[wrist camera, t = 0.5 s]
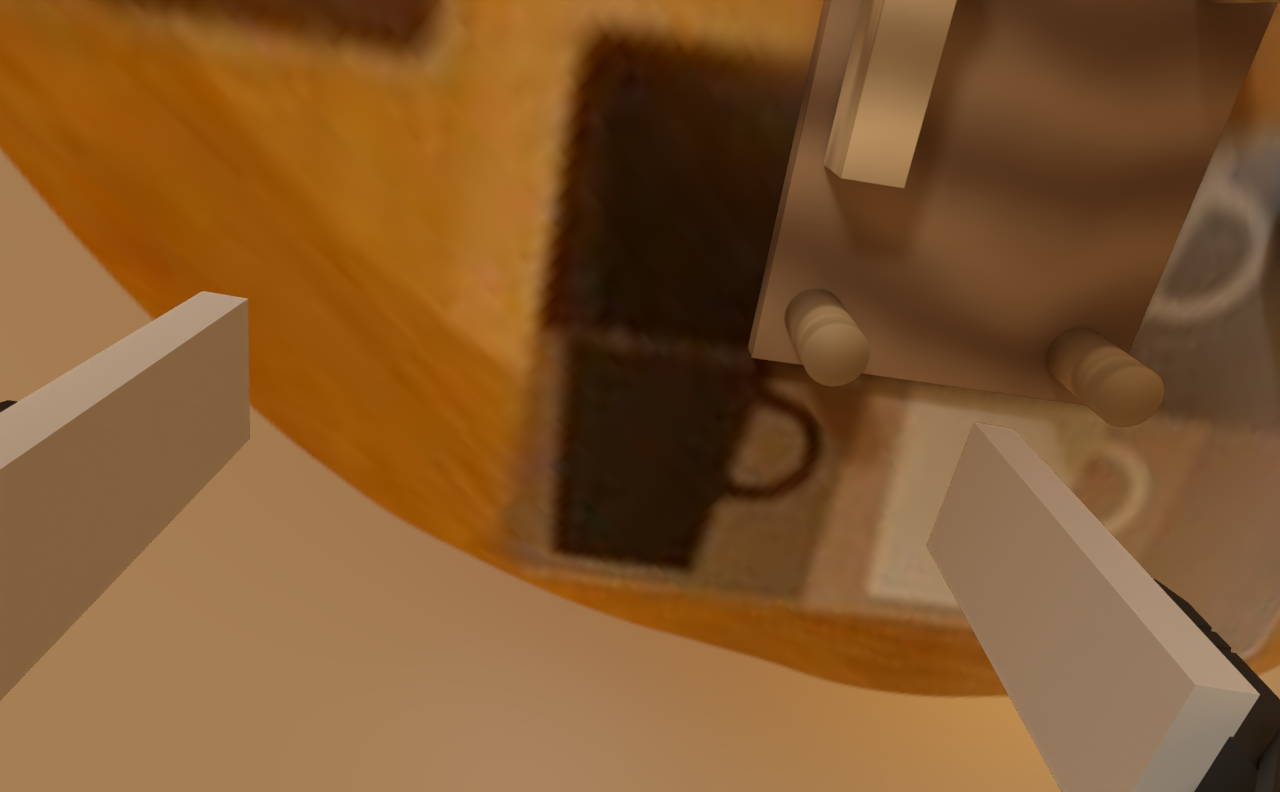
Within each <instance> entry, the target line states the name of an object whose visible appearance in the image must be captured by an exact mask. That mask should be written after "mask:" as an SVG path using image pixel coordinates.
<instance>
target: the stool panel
mask: <svg viewBox="0 0 1280 792" xmlns="http://www.w3.org/2000/svg"><path fill="white" fill-rule="evenodd" d="M1278 2H1280V0H957V1H956V5H955V8H954V12H953V15H952V19H951V22H950V26H949V30H948V33H947V37H946V40H945V44H944V47H943V51H942V55H941V58H940V62H939V65H938V69H937V72H936V76H935V80H934V83H933V87H932V90H931V94H930V97H929V101H928V105H927V108H926V112H925V115H924V119H923V122H922V126H921V130H920V133H919V137H918V140H917V144H916V147H915V151H914V155H913V158H912V162H911V165H910V169H909V172H908V176H907V180H906V183H905V187H904V188H900V187H893V186H887V185H881V184H874V183H868V182H861V181H855V180H849V179H842V178H840V177H839V176H837V175H836V174H835V173H834V172H832V171H831V170H830V169H829V168H827V167H826V166H825V165H824V160H825V156H826V152H827V147H828V143H829V139H830V135H831V130H832V126H833V122H834V118H835V114H836V109H837V105H838V101H839V97H840V92H841V88H842V84H843V80H844V76H845V71H846V67H847V63H848V59H849V55H850V50H851V46H852V42H853V38H854V33H855V29H856V25H857V21H858V17H859V12H860V8H861V4H862V0H824V3H823V8H822V13H821V17H820V22H819V26H818V31H817V35H816V40H815V44H814V49H813V53H812V58H811V63H810V67H809V72H808V76H807V81H806V85H805V90H804V94H803V99H802V104H801V108H800V113H799V117H798V122H797V126H796V131H795V135H794V140H793V145H792V149H791V154H790V158H789V163H788V167H787V172H786V176H785V181H784V186H783V190H782V195H781V199H780V204H779V208H778V213H777V217H776V222H775V227H774V231H773V236H772V240H771V245H770V249H769V254H768V258H767V263H766V268H765V272H764V277H763V281H762V286H761V290H760V295H759V299H758V304H757V309H756V313H755V318H754V322H753V327H752V331H751V336H750V340H749V345H748V348H749V351H750V354H751V357H752V358H756V359H763V360H770V361H777V362H784V363H791V364H799V365H804V368H805V370H806V372H807V373H808V375H809V376H810V377H811V378H812V379H813V380H814V381H816V382H818V383H820V384H822V385H826V386H841V385H845V384H847V383H850V382H852V381H853V380H855V379H856V378H857V377H859V376H860V375H861V373H862V374H869V375H876V376H883V377H890V378H897V379H904V380H911V381H918V382H925V383H932V384H939V385H947V386H954V387H961V388H968V389H975V390H982V391H989V392H996V393H1003V394H1010V395H1017V396H1024V397H1031V398H1038V399H1045V400H1052V401H1059V402H1066V403H1073V404H1080V405H1087V406H1088V407H1089V408H1090V409H1091V410H1093V411H1094V412H1095V413H1096V414H1097V415H1098V416H1100V417H1101V418H1102V419H1103V420H1104V421H1105V422H1107V423H1108V424H1110V425H1113V426H1117V427H1129V426H1134V425H1137V424H1139V423H1141V422H1143V421H1145V420H1147V419H1148V418H1149V417H1151V416H1152V415H1153V414H1154V413H1155V412H1156V411H1157V409H1158V408H1159V406H1160V405H1161V403H1162V400H1163V397H1164V384H1163V382H1162V380H1161V378H1160V377H1159V376H1158V375H1157V374H1156V373H1155V372H1153V371H1152V370H1151V369H1149V368H1148V367H1146V366H1145V365H1143V364H1142V363H1140V362H1139V361H1138V360H1136V359H1135V358H1133V357H1132V356H1130V355H1129V354H1128V352H1129V350H1130V348H1131V345H1132V343H1133V341H1134V338H1135V336H1136V334H1137V331H1138V329H1139V327H1140V324H1141V322H1142V319H1143V317H1144V315H1145V312H1146V310H1147V308H1148V305H1149V303H1150V301H1151V298H1152V296H1153V294H1154V291H1155V289H1156V287H1157V284H1158V282H1159V280H1160V277H1161V275H1162V273H1163V270H1164V268H1165V266H1166V263H1167V261H1168V258H1169V256H1170V254H1171V251H1172V249H1173V247H1174V244H1175V242H1176V240H1177V237H1178V235H1179V233H1180V230H1181V228H1182V226H1183V223H1184V221H1185V219H1186V216H1187V214H1188V212H1189V209H1190V207H1191V205H1192V202H1193V200H1194V198H1195V195H1196V193H1197V190H1198V188H1199V186H1200V183H1201V181H1202V179H1203V176H1204V174H1205V172H1206V169H1207V167H1208V165H1209V162H1210V160H1211V158H1212V155H1213V153H1214V151H1215V148H1216V146H1217V144H1218V141H1219V139H1220V137H1221V134H1222V132H1223V130H1224V127H1225V125H1226V122H1227V120H1228V118H1229V115H1230V113H1231V111H1232V108H1233V106H1234V104H1235V101H1236V99H1237V97H1238V94H1239V92H1240V90H1241V87H1242V85H1243V83H1244V80H1245V78H1246V76H1247V73H1248V71H1249V69H1250V66H1251V64H1252V62H1253V59H1254V57H1255V54H1256V52H1257V50H1258V47H1259V45H1260V43H1261V40H1262V38H1263V36H1264V33H1265V31H1266V29H1267V26H1268V24H1269V22H1270V19H1271V17H1272V15H1273V12H1274V10H1275V8H1276V5H1277V3H1278Z"/></svg>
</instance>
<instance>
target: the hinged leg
mask: <svg viewBox="0 0 1280 792" xmlns="http://www.w3.org/2000/svg"><path fill="white" fill-rule="evenodd" d="M956 1H957V0H862V4H861V8H860V12H859V17H858V21H857V25H856V29H855V33H854V38H853V42H852V46H851V50H850V55H849V59H848V63H847V67H846V71H845V76H844V80H843V84H842V88H841V92H840V97H839V101H838V105H837V109H836V114H835V118H834V122H833V126H832V130H831V135H830V139H829V143H828V147H827V152H826V156H825V160H824V165H825V166H826V167H827V168H829V169H830V170H831V171H832V172H834V173H835V174H836V175H837V176H839V177H840V178H842V179H849V180H855V181H861V182H868V183H874V184H881V185H887V186H893V187H900V188H904V187H905V183H906V180H907V176H908V172H909V169H910V165H911V162H912V158H913V155H914V151H915V147H916V144H917V140H918V137H919V133H920V130H921V126H922V122H923V119H924V115H925V112H926V108H927V105H928V101H929V97H930V94H931V90H932V87H933V83H934V80H935V76H936V72H937V69H938V65H939V62H940V58H941V55H942V51H943V47H944V44H945V40H946V37H947V33H948V30H949V26H950V22H951V19H952V15H953V12H954V8H955V5H956Z"/></svg>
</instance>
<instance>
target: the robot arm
mask: <svg viewBox="0 0 1280 792" xmlns="http://www.w3.org/2000/svg"><path fill="white" fill-rule="evenodd" d="M249 439H250V421H249V343H248V299H246V298H240V297H234V296H228V295H223V294H217V293H211V292H205V291H202V292H200V293H199V294H197V295H195V296H194V297H192V298H190V299H189V300H187V301H185V302H184V303H182V304H180V305H179V306H177V307H175V308H174V309H172V310H170V311H169V312H167V313H165V314H164V315H162V316H160V317H159V318H157V319H155V320H154V321H152V322H150V323H149V324H147V325H145V326H144V327H142V328H140V329H139V330H137V331H135V332H134V333H132V334H130V335H129V336H127V337H125V338H124V339H122V340H121V341H119V342H117V343H115V344H114V345H112V346H110V347H109V348H107V349H105V350H104V351H102V352H100V353H99V354H97V355H95V356H94V357H92V358H90V359H89V360H87V361H85V362H84V363H82V364H80V365H79V366H77V367H75V368H74V369H72V370H70V371H69V372H67V373H65V374H64V375H62V376H60V377H59V378H57V379H55V380H54V381H52V382H50V383H49V384H47V385H45V386H44V387H42V388H40V389H39V390H37V391H35V392H34V393H32V394H30V395H29V396H27V397H25V398H24V399H22V400H20V401H19V402H16V401H10V400H7V401H4V402H1V403H0V700H1V699H2V698H3V697H4V696H5V695H6V694H7V693H8V692H9V691H10V690H11V689H12V688H13V687H14V686H15V685H16V684H17V683H18V682H19V680H20V679H21V678H22V677H23V676H24V675H25V674H26V673H27V672H28V671H29V670H30V669H31V668H32V667H33V666H34V665H35V664H36V663H37V662H38V661H39V659H40V658H41V657H42V656H43V655H44V654H45V653H46V652H47V651H48V650H49V649H50V648H51V647H52V646H53V645H54V644H55V643H56V642H57V640H59V638H60V637H61V636H62V635H63V634H64V633H65V632H66V631H67V630H68V629H69V628H70V626H72V625H73V624H74V623H75V622H76V621H77V620H78V619H79V618H80V616H81V615H82V614H83V613H84V612H85V611H86V610H87V609H88V608H89V607H90V606H91V605H92V604H93V603H94V602H95V601H96V599H97V598H99V597H100V595H101V594H102V593H103V592H104V591H105V590H106V589H107V588H108V587H109V586H110V585H111V584H112V583H113V582H114V581H115V580H116V579H117V578H118V577H119V576H120V575H121V573H122V572H123V571H124V570H125V569H126V568H127V567H128V566H129V565H130V564H131V563H132V562H133V561H134V560H135V559H136V558H137V557H138V556H139V555H140V554H141V552H142V551H143V550H144V549H145V548H146V547H147V546H148V545H149V544H150V543H151V542H152V541H153V540H154V539H155V538H156V537H157V536H158V535H159V534H160V533H161V531H162V530H163V529H164V528H165V527H166V526H167V525H168V524H169V523H170V522H171V521H172V520H173V519H174V518H175V517H176V516H177V515H178V514H179V513H180V512H181V511H182V509H183V508H184V507H185V506H186V505H187V504H188V503H189V502H190V501H191V500H192V499H193V498H194V497H195V495H197V494H198V493H199V492H200V490H202V488H203V487H204V486H205V485H206V484H207V483H208V482H209V481H210V480H211V479H212V478H213V477H214V476H215V475H216V474H217V473H218V472H219V471H220V470H221V469H222V467H223V466H224V465H225V464H226V463H227V462H228V461H229V460H230V459H231V458H232V457H233V456H234V455H235V454H236V453H237V452H238V451H239V450H240V449H241V448H242V447H243V445H244V444H245V443H246V442H247V441H248V440H249ZM927 548H928V549H929V551H930V553H931V555H932V557H933V559H934V560H935V562H936V564H937V566H938V568H939V570H940V571H941V573H942V575H943V577H944V579H945V580H946V582H947V584H948V586H949V588H950V590H951V591H952V593H953V595H954V597H955V599H956V601H957V602H958V604H959V606H960V608H961V610H962V611H963V613H964V615H965V617H966V619H967V621H968V622H969V624H970V626H971V628H972V630H973V631H974V633H975V635H976V637H977V639H978V641H979V642H980V644H981V646H982V648H983V650H984V652H985V653H986V655H987V657H988V659H989V661H990V662H991V664H992V666H993V668H994V670H995V672H996V673H997V675H998V677H999V679H1000V681H1001V682H1002V684H1003V686H1004V688H1005V690H1006V692H1007V693H1008V695H1009V697H1010V699H1011V700H1012V703H1013V704H1014V706H1015V708H1016V710H1017V712H1018V713H1019V715H1020V717H1021V719H1022V720H1023V722H1024V724H1025V726H1026V728H1027V730H1028V731H1029V733H1030V735H1031V737H1032V739H1033V741H1034V742H1035V744H1036V746H1037V748H1038V750H1039V752H1040V754H1041V755H1042V757H1043V759H1044V761H1045V763H1046V764H1047V766H1048V768H1049V770H1050V772H1051V774H1052V775H1053V777H1054V779H1055V781H1056V783H1057V784H1058V786H1059V788H1060V790H1061V792H1280V699H1279V698H1278V697H1277V696H1276V695H1275V694H1274V693H1273V692H1272V691H1271V690H1270V689H1269V687H1268V686H1267V685H1266V684H1265V683H1264V682H1263V681H1262V680H1261V679H1260V678H1259V677H1258V676H1257V675H1256V674H1255V673H1254V672H1253V671H1252V670H1251V668H1250V667H1249V666H1248V665H1247V664H1246V663H1245V662H1244V661H1243V660H1242V659H1241V658H1240V657H1239V656H1238V655H1237V654H1236V653H1231V647H1230V646H1229V645H1228V644H1227V643H1226V642H1225V641H1224V640H1223V639H1222V638H1221V637H1220V636H1219V635H1218V634H1217V633H1216V632H1211V628H1212V627H1211V626H1210V625H1209V624H1208V623H1207V622H1206V621H1205V620H1204V619H1203V618H1202V617H1201V616H1200V615H1199V614H1198V613H1197V612H1196V611H1195V609H1194V608H1193V607H1192V606H1191V605H1190V604H1189V603H1188V602H1186V601H1185V600H1184V599H1182V598H1181V597H1179V596H1178V595H1177V594H1175V593H1174V592H1172V591H1171V590H1170V589H1168V588H1167V587H1165V586H1164V585H1163V584H1161V583H1160V582H1158V581H1157V580H1155V579H1153V578H1152V577H1151V576H1150V575H1149V574H1148V573H1147V572H1146V571H1145V570H1144V569H1143V568H1142V567H1141V565H1140V564H1139V563H1138V562H1137V561H1136V560H1135V559H1134V558H1133V557H1132V556H1131V555H1130V554H1129V553H1128V551H1127V550H1126V549H1125V548H1124V547H1123V546H1122V545H1121V544H1120V543H1119V542H1118V541H1117V540H1116V538H1115V537H1114V536H1113V535H1112V534H1111V533H1110V532H1109V531H1108V530H1107V529H1106V528H1105V527H1104V526H1103V524H1102V523H1101V522H1100V521H1099V520H1098V519H1097V518H1096V517H1095V516H1094V515H1093V514H1092V513H1091V512H1090V510H1089V509H1088V508H1087V507H1086V506H1085V505H1084V504H1083V503H1082V502H1081V501H1080V500H1079V499H1078V497H1077V496H1076V495H1075V494H1074V493H1073V492H1072V491H1071V490H1070V489H1069V488H1068V487H1067V486H1066V485H1065V483H1064V482H1063V481H1062V480H1061V479H1060V478H1059V477H1058V476H1057V475H1056V474H1055V473H1054V472H1053V470H1052V469H1051V468H1050V467H1049V466H1048V465H1047V464H1046V463H1045V462H1044V461H1043V460H1042V459H1041V458H1040V456H1039V455H1038V454H1037V453H1036V452H1035V451H1034V450H1033V449H1032V448H1031V447H1030V446H1029V445H1028V444H1027V442H1026V441H1025V440H1024V439H1023V438H1022V437H1021V436H1020V435H1019V434H1018V433H1017V432H1016V431H1015V429H1012V428H1006V427H1000V426H994V425H989V424H983V423H977V422H974V424H973V427H972V429H971V432H970V434H969V437H968V439H967V442H966V445H965V447H964V450H963V452H962V455H961V458H960V460H959V463H958V465H957V468H956V471H955V473H954V476H953V478H952V481H951V483H950V486H949V489H948V491H947V494H946V496H945V499H944V502H943V504H942V507H941V509H940V512H939V515H938V517H937V520H936V522H935V525H934V527H933V530H932V533H931V535H930V538H929V540H928V543H927Z"/></svg>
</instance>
